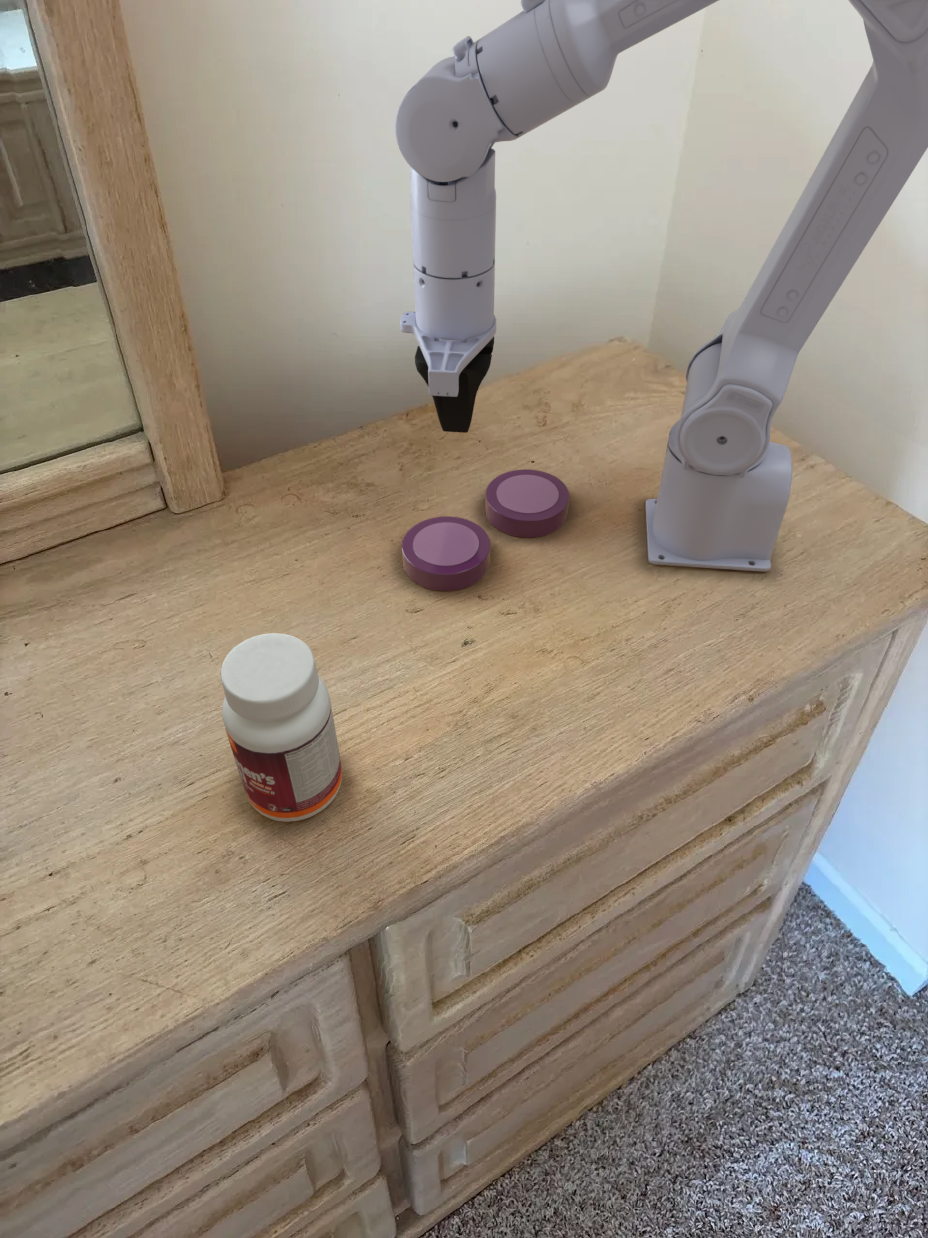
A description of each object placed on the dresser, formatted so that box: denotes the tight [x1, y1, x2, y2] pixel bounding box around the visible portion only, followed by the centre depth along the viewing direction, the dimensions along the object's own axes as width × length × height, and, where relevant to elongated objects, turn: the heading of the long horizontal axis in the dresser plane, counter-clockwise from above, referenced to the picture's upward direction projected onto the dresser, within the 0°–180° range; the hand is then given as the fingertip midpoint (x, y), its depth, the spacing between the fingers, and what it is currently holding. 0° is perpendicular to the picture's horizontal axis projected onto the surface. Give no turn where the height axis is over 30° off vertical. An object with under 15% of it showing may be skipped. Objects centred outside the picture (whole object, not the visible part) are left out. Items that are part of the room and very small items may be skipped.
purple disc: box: [401, 515, 491, 592], centre depth 72 cm, size 7×7×2 cm
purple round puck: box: [484, 468, 571, 538], centre depth 76 cm, size 7×7×2 cm
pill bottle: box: [220, 632, 343, 823], centre depth 53 cm, size 6×6×11 cm
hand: (456, 427), depth 73 cm, fingers closed
